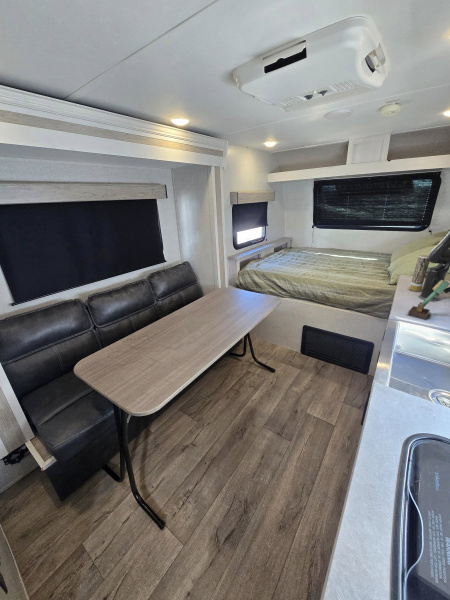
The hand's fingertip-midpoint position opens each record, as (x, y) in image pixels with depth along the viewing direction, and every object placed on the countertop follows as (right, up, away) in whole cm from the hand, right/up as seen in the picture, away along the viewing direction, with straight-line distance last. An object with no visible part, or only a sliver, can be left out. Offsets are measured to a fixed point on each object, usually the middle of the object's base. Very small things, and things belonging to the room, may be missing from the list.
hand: (444, 291), depth 128 cm
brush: (-5, -9, +10) cm, 14 cm away
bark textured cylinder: (+21, +3, +47) cm, 52 cm away
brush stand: (-5, -13, +12) cm, 18 cm away
